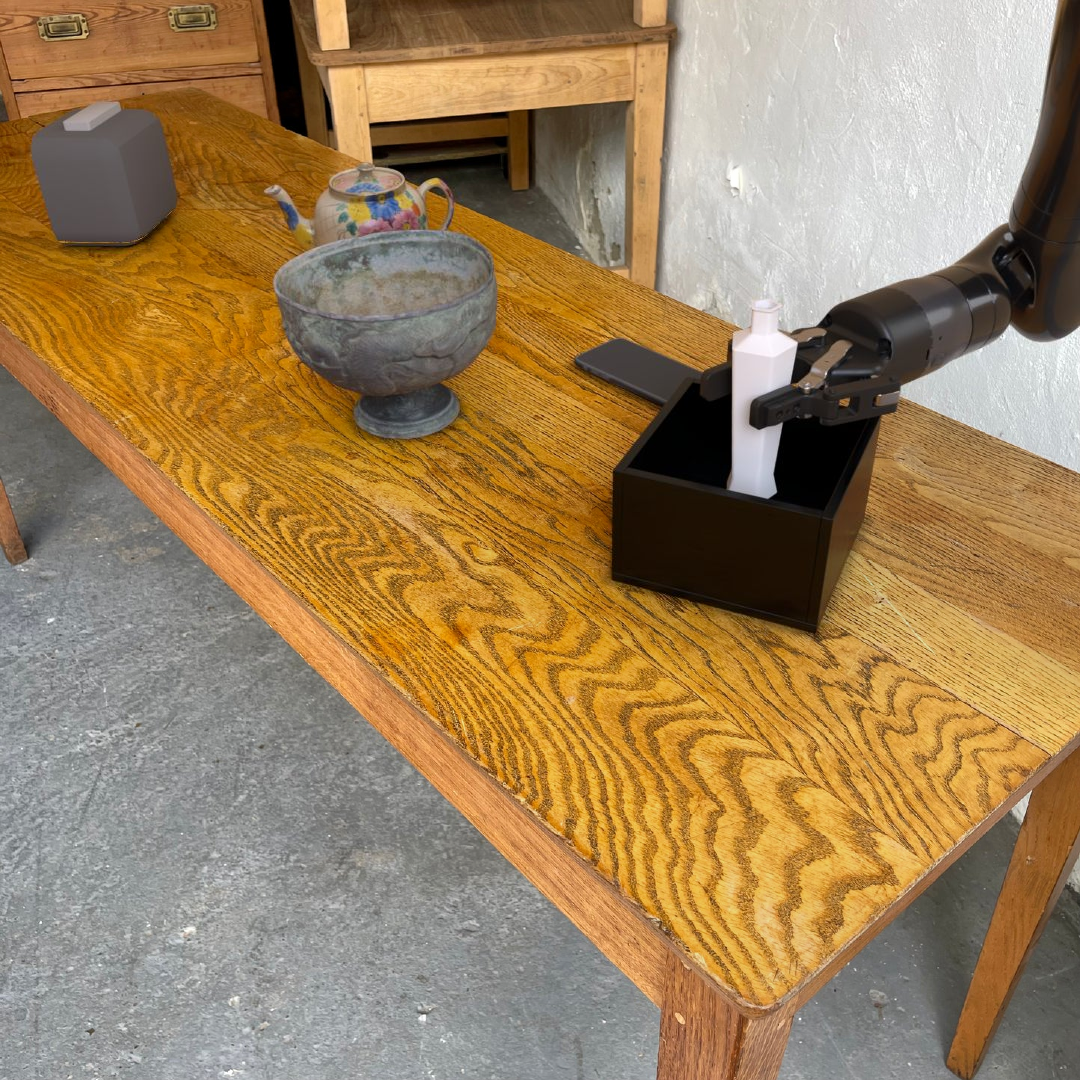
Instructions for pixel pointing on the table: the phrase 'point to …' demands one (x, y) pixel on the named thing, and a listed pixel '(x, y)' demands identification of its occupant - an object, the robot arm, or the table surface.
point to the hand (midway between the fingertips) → (728, 401)
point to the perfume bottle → (755, 372)
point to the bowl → (391, 322)
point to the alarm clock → (104, 174)
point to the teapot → (361, 206)
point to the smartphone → (636, 369)
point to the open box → (740, 512)
